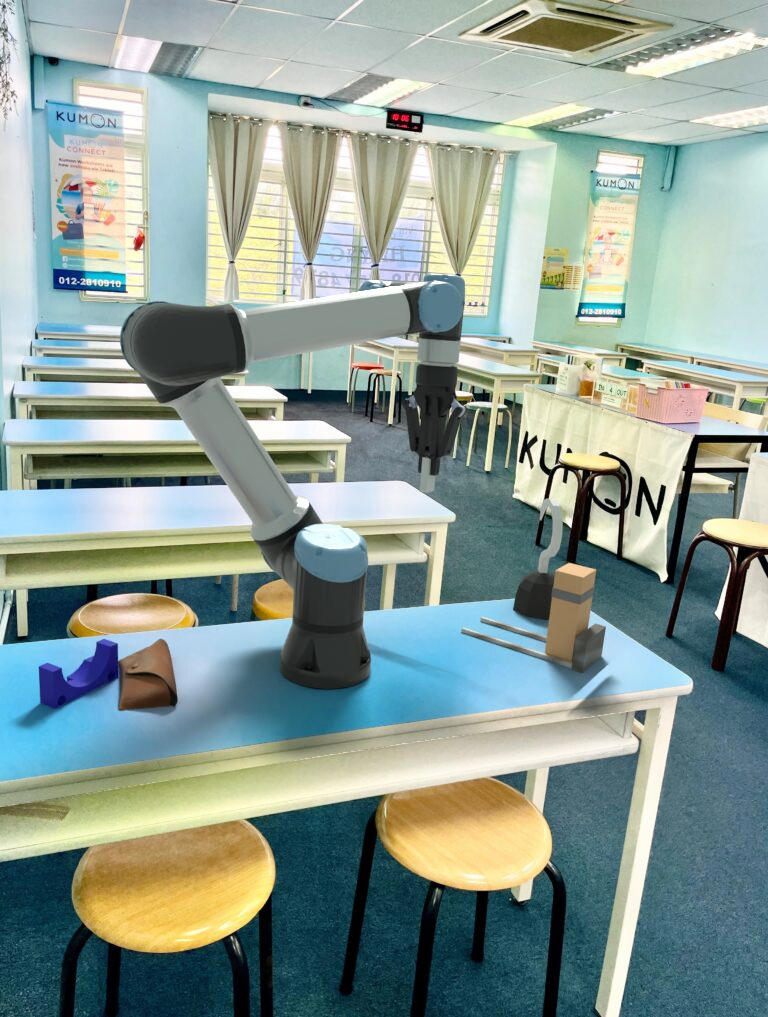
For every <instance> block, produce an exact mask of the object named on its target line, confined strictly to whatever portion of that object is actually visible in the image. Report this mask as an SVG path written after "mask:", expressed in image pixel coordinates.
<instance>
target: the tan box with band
mask: <svg viewBox="0 0 768 1017" xmlns="http://www.w3.org/2000/svg"><path fill="white" fill-rule="evenodd" d="M596 574H597V569H596V568H590V567H588V566H584V565H580V564H579V565H578V564H575V563H571V562H568V563H566V564H563V565H562V566H561V567H558V568H557V569H555V572H554V576H555V578H554V586H553V588H552V596H551V597H552V602H551V609H550V617H549V620H548V626H547V634H546V637H547V641H546V642H545V649H544V654H547V655H550V656H554V657H557V658H560V659H563V660H566V661H569V662H572V661H573V654H574V646H575V639H576V638H577V637H578V636H579V635H581V634H582V633H583V632H584V631H586V630H587V629H588V628H589V624H590V618H591V616H590V615H591V610H592V605H593V604H592V602H593V596H594V594H595V582H596Z"/></svg>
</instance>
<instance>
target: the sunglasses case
mask: <svg viewBox="0 0 768 1017" xmlns="http://www.w3.org/2000/svg"><path fill="white" fill-rule="evenodd" d="M118 666H119V669H120V697H119V703H118V710H119V711H121V712H124V711H130V710H144V709H154V708H169V707H173V708H175V706H176V705H177V704H178V702H179V701H178V700H179V699H178V691H177V683H176V677H175V673H174V672H175V671H174V665H173V661H172V654H171V651H170V647H169V645H168V642H167V641H166V640H165V639H163V638H159V639H157V640H156V641H155V642H153V643H152V644H151V645H149V646H147V647H144V648H142V649H140V650H138V651H135V652H134V653H132V654H128V655H127V656H125V657H123V658H121V659H118Z"/></svg>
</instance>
